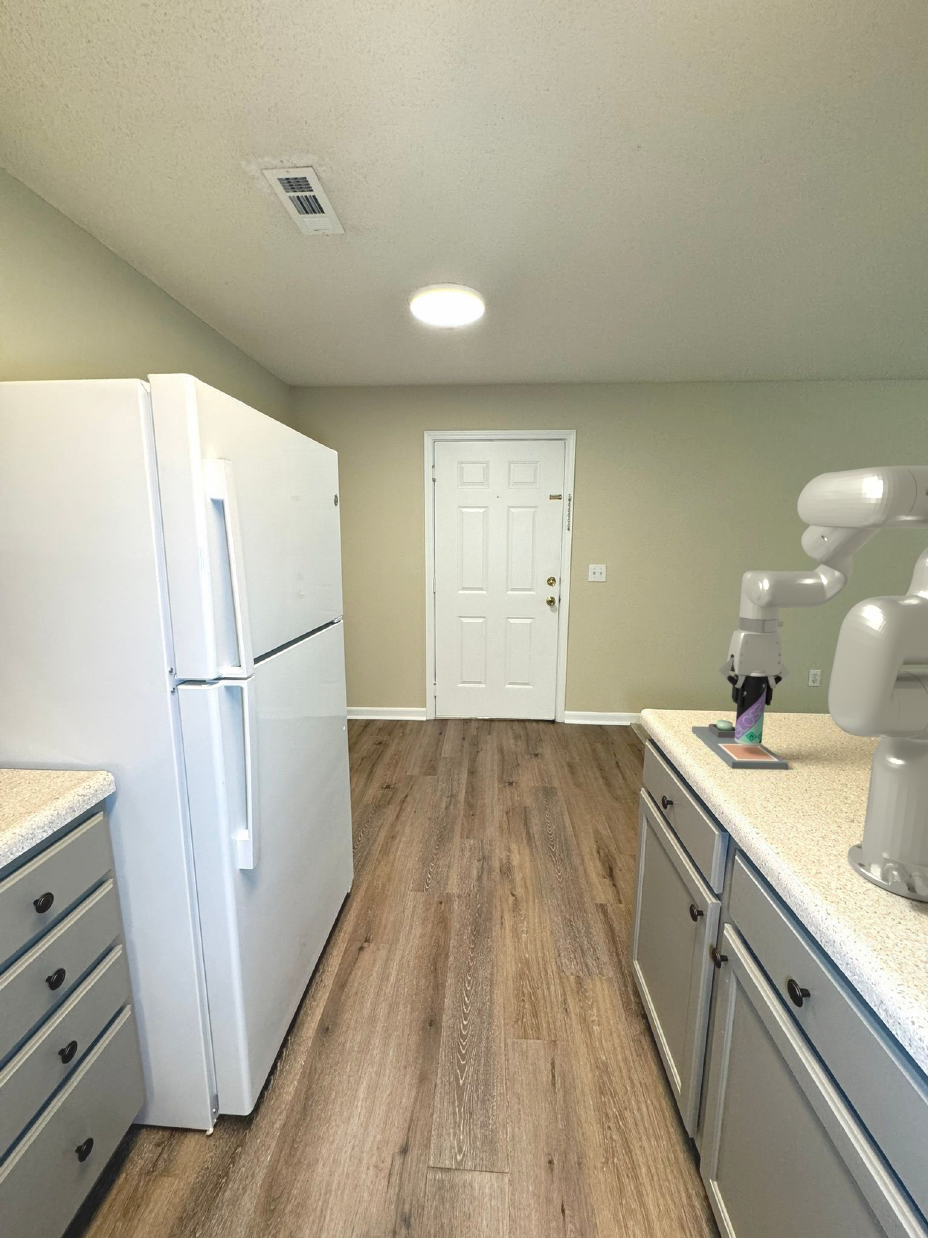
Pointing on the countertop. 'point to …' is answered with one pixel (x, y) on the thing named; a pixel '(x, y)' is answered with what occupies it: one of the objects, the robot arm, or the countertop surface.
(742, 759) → the picture board
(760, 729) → the spray can
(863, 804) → the countertop surface
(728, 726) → the button
